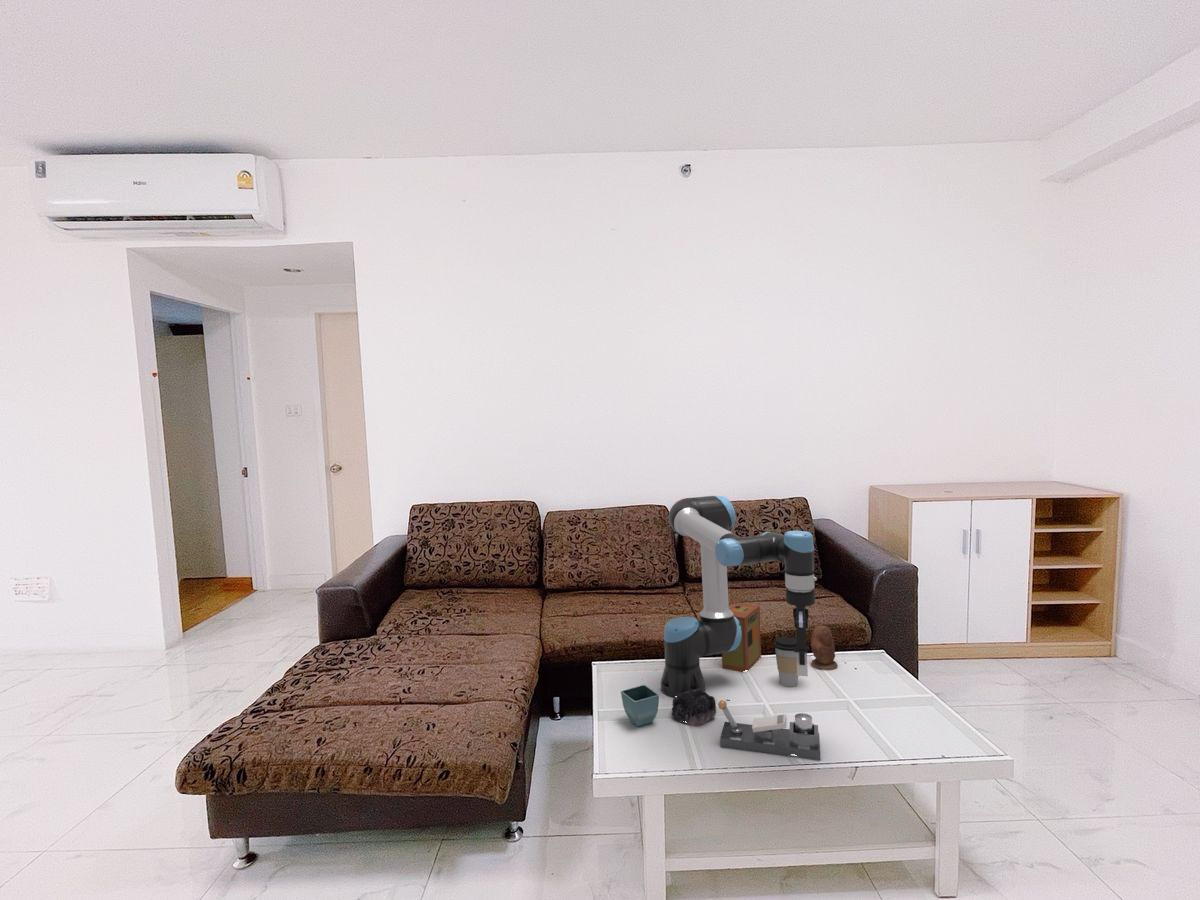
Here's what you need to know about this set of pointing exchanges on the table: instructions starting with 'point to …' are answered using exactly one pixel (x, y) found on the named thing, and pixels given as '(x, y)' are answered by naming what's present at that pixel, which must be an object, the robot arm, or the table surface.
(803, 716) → the button
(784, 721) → the plate
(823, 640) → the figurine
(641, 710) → the flower pot
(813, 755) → the panel
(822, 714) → the table surface
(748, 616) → the box
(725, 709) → the toggle
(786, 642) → the coffee cup
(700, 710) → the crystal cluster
